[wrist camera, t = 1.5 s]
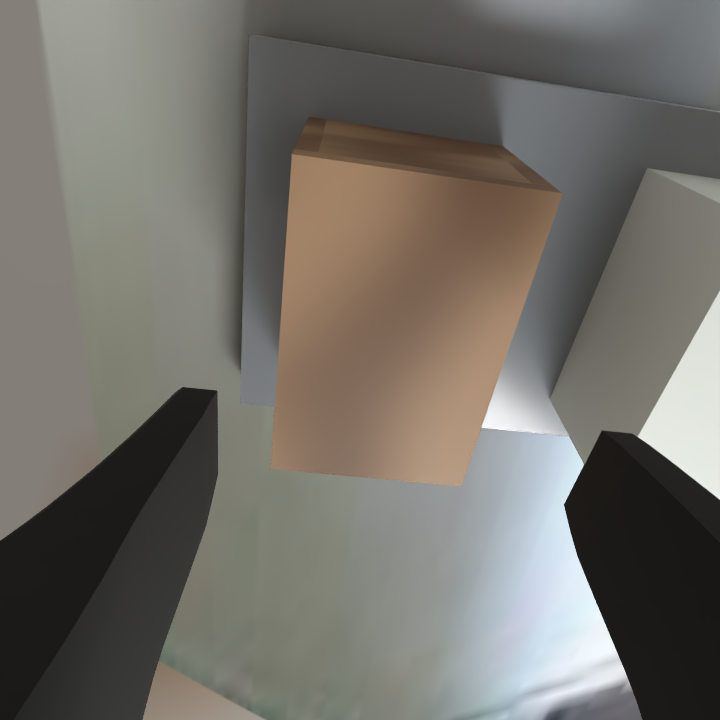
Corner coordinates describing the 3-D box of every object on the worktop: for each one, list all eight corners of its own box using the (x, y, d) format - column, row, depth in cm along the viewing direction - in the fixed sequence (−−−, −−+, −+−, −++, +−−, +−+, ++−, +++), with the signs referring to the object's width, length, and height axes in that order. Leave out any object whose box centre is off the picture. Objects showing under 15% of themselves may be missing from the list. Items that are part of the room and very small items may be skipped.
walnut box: (503, 146, 15) (562, 193, 11) (437, 387, 20) (461, 486, 15) (308, 116, 15) (291, 154, 10) (287, 371, 19) (270, 468, 15)
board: (844, 131, 16) (877, 138, 15) (667, 428, 22) (682, 447, 21) (256, 34, 14) (249, 35, 13) (245, 384, 21) (240, 402, 20)
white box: (819, 194, 16) (988, 255, 12) (686, 414, 20) (772, 514, 16) (646, 168, 15) (758, 221, 11) (549, 399, 20) (602, 499, 16)
